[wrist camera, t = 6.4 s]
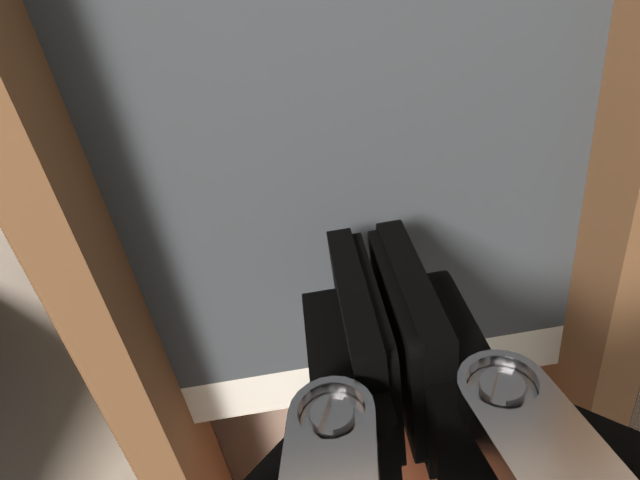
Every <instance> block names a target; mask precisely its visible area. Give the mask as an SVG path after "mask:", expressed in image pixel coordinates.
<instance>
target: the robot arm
mask: <svg viewBox="0 0 640 480" xmlns="http://www.w3.org/2000/svg"><path fill="white" fill-rule="evenodd" d="M326 233H327V240H328V247H329V254H330V260H331V267H332V273H333V280H334V286H335V288H334V289H328V290H322V291H316V292H309V293H303V294H302V304H303V315H304V325H305V336H306V347H307V358H308V368H309V379H310V382H309V383H308V384H306V385H305V386H304V387H302V388H301V389H300V390H298V392H297V393H296V394H295V396H294V397H293V399H292V400H291V403H290V406H289V409H288V413H287V420H286V427H285V435H284V438H283V439H282V440H281V441H280V442H279V443H278V444H277V445H276V446H275V447H274V448H273V449H272V450H271V452H270V453H269V454H268V455H267V456H266V457H265V458H264V459H263V460H262V461H261V462H260V463H259V464H258V465H257V466H256V467H255V468H254V469H253V470H252V472H251V473H250V474H249V475H248V476H247V477H246V478H245V479H244V480H403V478H402V466H406V465H407V458H406V445H405V432H404V428H405V431H406V435H407V438H408V442H409V445H410V449H411V453H412V456H413V459H414V462H415V464H419V463H425V465H426V469H427V472H428V475H429V479H430V480H433V479H438V480H640V432H639V431H637V430H634V429H632V428H630V427H627V426H625V425H622V424H620V423H618V422H615V421H613V420H611V419H608V418H606V417H603V416H601V415H599V414H596V413H594V412H591V411H589V410H587V409H584V408H582V407H579V406H577V405H575V404H572V403H571V401H570V400H569V399H568V398H567V397H566V396H565V395H564V393H563V392H562V391H561V390H560V389H559V388H558V386H557V385H556V384H555V383H554V382H553V381H552V380H551V378H550V377H549V376H548V375H547V374H546V373H545V372H544V370H543V369H542V368H541V367H539V366H538V365H537V364H536V363H535V362H534V361H533V360H531V359H529V358H527V357H525V356H523V355H521V354H519V353H515V352H511V351H508V350H496V349H491V348H490V346H489V345H488V343H487V341H486V339H485V337H484V335H483V334H482V332H481V330H480V328H479V326H478V324H477V323H476V321H475V319H474V317H473V315H472V313H471V312H470V310H469V308H468V306H467V304H466V302H465V301H464V299H463V297H462V295H461V293H460V291H459V289H458V288H457V286H456V284H455V282H454V280H453V278H452V277H451V275H450V274H449V272H448V271H446V270H443V271H437V272H431V273H426V271H425V269H424V267H423V265H422V263H421V260H420V258H419V256H418V254H417V252H416V250H415V248H414V246H413V244H412V241H411V239H410V237H409V235H408V233H407V231H406V229H405V227H404V225H403V223H402V221H401V220H394V221H388V222H382V223H376V230H372V231H368V243H369V253H370V260H369V257H368V254H367V251H366V247H365V244H364V241H363V238H362V235H361V233H354V234H352V232H351V229H350V228H345V229H339V230H333V231H327V232H326ZM370 262H371V263H370Z"/></svg>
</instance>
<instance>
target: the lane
mask: <svg viewBox="0 0 640 480" xmlns="http://www.w3.org/2000/svg"><path fill="white" fill-rule="evenodd" d="M394 220H401V221H402V223H403V225H404V227H405V229H406V231H407V233H408V235H409V237H410V239H411V241H412V244H413V246H414V248H415V250H416V252H417V254H418V256H419V258H420V260H421V263H422V265H423V267H424V269H425V271H426V273H431V272H437V271H443V270H446V271H448V272H449V274H450V275H451V277H452V278H453V280H454V282H455V284H456V286H457V288H458V289H459V291H460V293H461V295H462V297H463V299H464V301H465V302H466V304H467V306H468V308H469V310H470V312H471V313H472V315H473V317H474V319H475V321H476V323H477V324H478V326H479V328H480V330H481V332H482V334H483V335H484V337H485V339H486V341H487V343H488V345H489V346H490V348H491V349H496V350H508V351H511V352H515V353H519V354H521V355H523V356H525V357H527V358H529V359H531V360H533V361H534V362H535V363H536V364H537V365H538V366H539V367H541V368H542V369H543V370H544V372H545V373H546V374H547V375H548V376H549V377H550V378H551V380H552V381H553V382H554V383H555V384H556V385H557V386H558V388H559V389H560V390H561V391H562V392H563V393H564V395H565V396H566V397H567V398H568V399H569V400H570V401H571V403H572V404H575V405H577V406H579V407H582V408H584V409H587V410H589V411H591V412H594V413H596V414H599V415H601V416H603V417H606V418H608V419H611V420H613V421H615V422H618V423H620V424H622V425H625V426H627V427H629V424H630V421H631V417H632V413H633V410H634V406H635V403H636V399H637V396H638V392H639V389H640V0H0V228H1V230H2V231H3V233H4V235H5V237H6V239H7V241H8V242H9V244H10V246H11V248H12V250H13V252H14V253H15V255H16V257H17V259H18V261H19V263H20V264H21V266H22V268H23V270H24V272H25V274H26V275H27V277H28V279H29V281H30V283H31V285H32V286H33V288H34V290H35V292H36V294H37V296H38V298H39V299H40V301H41V303H42V305H43V307H44V309H45V310H46V312H47V314H48V316H49V318H50V320H51V321H52V323H53V325H54V327H55V329H56V331H57V332H58V334H59V336H60V338H61V340H62V342H63V343H64V345H65V347H66V349H67V351H68V353H69V354H70V356H71V358H72V360H73V362H74V364H75V365H76V367H77V369H78V371H79V373H80V375H81V376H82V378H83V380H84V382H85V384H86V386H87V387H88V389H89V391H90V393H91V395H92V397H93V398H94V400H95V402H96V404H97V406H98V408H99V409H100V411H101V413H102V415H103V417H104V419H105V420H106V422H107V424H108V426H109V428H110V430H111V431H112V433H113V435H114V437H115V439H116V441H117V442H118V444H119V446H120V448H121V450H122V452H123V453H124V455H125V457H126V459H127V461H128V463H129V464H130V466H131V468H132V470H133V472H134V474H135V475H136V477H137V479H138V480H232V477H231V475H230V472H229V469H228V467H227V464H226V461H225V459H224V456H223V454H222V451H221V448H220V446H219V443H218V440H217V438H216V435H215V433H214V430H213V427H212V425H211V422H210V421H213V420H219V419H225V418H231V417H237V416H243V415H249V414H255V413H261V412H267V411H273V410H279V409H285V408H289V406H290V403H291V400H292V399H293V397H294V396H295V394H296V393H297V392H298V390H300V389H301V388H302V387H304V386H305V385H306V384H308V383H309V382H310V379H309V368H308V358H307V347H306V336H305V325H304V315H303V304H302V294H303V293H309V292H316V291H322V290H328V289H334V288H335V286H334V280H333V273H332V267H331V260H330V254H329V247H328V240H327V233H326V232H327V231H333V230H339V229H345V228H350V229H351V232H352V234H354V233H361V235H362V238H363V241H364V244H365V247H366V251H367V254H368V257H369V260H370V253H369V243H368V231H372V230H376V223H382V222H388V221H394ZM370 263H371V262H370Z"/></svg>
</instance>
